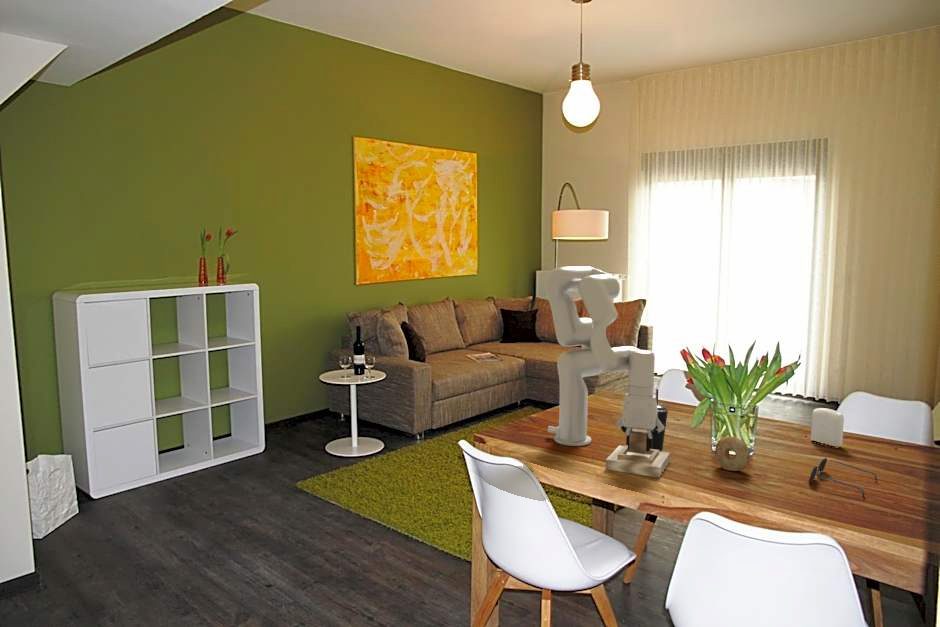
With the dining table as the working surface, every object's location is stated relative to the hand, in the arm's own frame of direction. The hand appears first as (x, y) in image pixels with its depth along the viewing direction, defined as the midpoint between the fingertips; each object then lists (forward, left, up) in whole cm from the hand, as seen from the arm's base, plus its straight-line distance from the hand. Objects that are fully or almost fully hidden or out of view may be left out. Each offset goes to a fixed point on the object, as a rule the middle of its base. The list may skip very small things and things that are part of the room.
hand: (639, 448), depth 212 cm
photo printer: (+52, +52, -6) cm, 74 cm away
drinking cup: (+1, +20, -6) cm, 21 cm away
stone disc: (+26, +9, -6) cm, 28 cm away
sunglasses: (+56, +12, -6) cm, 57 cm away
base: (0, 0, -6) cm, 6 cm away
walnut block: (0, 0, -1) cm, 1 cm away
